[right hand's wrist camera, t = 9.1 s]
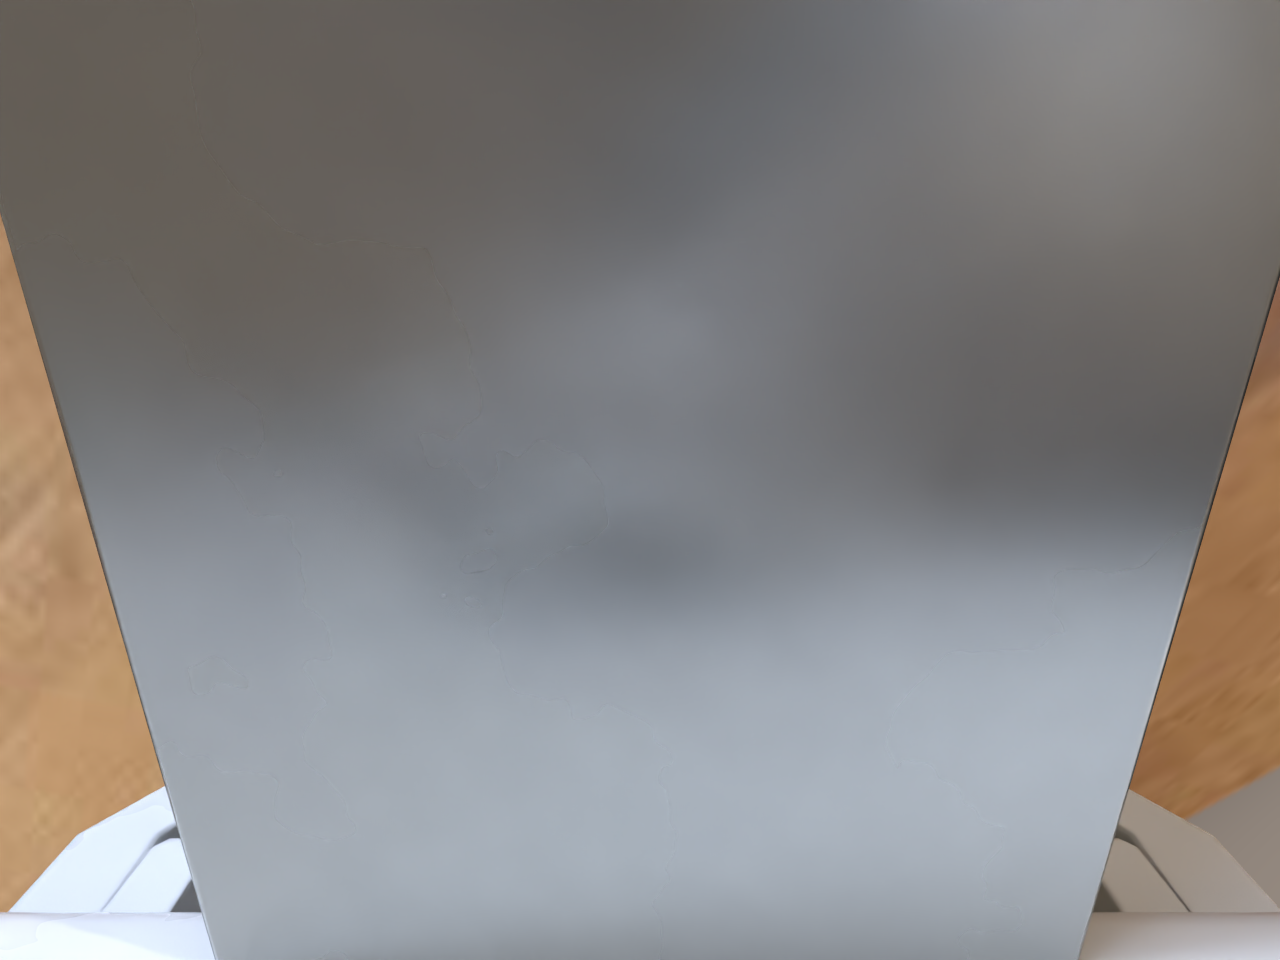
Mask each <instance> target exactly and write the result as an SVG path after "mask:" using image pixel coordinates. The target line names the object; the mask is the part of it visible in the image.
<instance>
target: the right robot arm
mask: <svg viewBox="0 0 1280 960" xmlns="http://www.w3.org/2000/svg"><path fill="white" fill-rule="evenodd" d="M0 960H215V958H214V954H213V951H212V948H211V944H210V941H209V937H208V934H207V930H206V927H205V923H204V920H203V916H202V913H201V909H200V906H199V902H198V899H197V895H196V892H195V888H194V885H193V881H192V878H191V874H190V871H189V867H188V864H187V861H186V857H185V854H184V850H183V847H182V843H181V840H180V836H179V833H178V829H177V826H176V822H175V819H174V815H173V812H172V808H171V805H170V801H169V798H168V794H167V791H166V787H165V786H164V787H162V788H161V789H159V790H157V791H155V792H153V793H152V794H150V795H148V796H146V797H144V798H143V799H141V800H139V801H137V802H135V803H134V804H132V805H130V806H128V807H126V808H125V809H123V810H121V811H119V812H117V813H116V814H114V815H112V816H110V817H109V818H107V819H105V820H103V821H101V822H100V823H98V824H96V825H94V826H92V827H91V828H89V829H87V830H85V831H83V832H82V833H80V834H78V835H77V836H76V837H75V838H74V839H73V840H72V841H71V842H70V844H69V845H68V846H67V847H66V848H65V849H64V850H63V851H62V853H61V854H60V855H59V856H58V857H57V858H56V859H55V860H54V861H53V863H52V864H51V865H50V866H49V867H48V868H47V869H46V870H45V871H44V873H43V874H42V875H41V876H40V877H39V878H38V879H37V880H36V881H35V883H34V884H33V885H32V886H31V887H30V888H29V889H28V890H27V891H26V893H25V894H24V895H23V896H22V897H21V898H20V899H19V900H18V901H17V903H16V904H15V905H14V906H13V907H12V908H11V909H10V910H9V911H8V912H0ZM1079 960H1280V908H1279V907H1278V906H1277V905H1276V904H1275V903H1274V902H1273V901H1272V899H1271V898H1270V897H1269V896H1268V895H1267V894H1266V893H1265V892H1264V891H1263V890H1262V888H1261V887H1260V886H1259V885H1258V884H1257V883H1256V882H1255V881H1254V880H1253V879H1252V878H1251V876H1250V875H1249V874H1248V873H1247V872H1246V871H1245V870H1244V869H1243V868H1242V866H1241V865H1240V864H1239V863H1238V862H1237V861H1236V860H1235V859H1234V858H1233V857H1232V855H1231V854H1230V853H1229V852H1228V851H1227V850H1226V849H1225V848H1224V847H1223V846H1222V844H1221V843H1220V842H1219V841H1218V840H1217V839H1216V838H1215V837H1214V836H1213V835H1211V834H1209V833H1207V832H1206V831H1204V830H1202V829H1200V828H1198V827H1197V826H1195V825H1193V824H1191V823H1189V822H1188V821H1186V820H1184V819H1182V818H1180V817H1179V816H1177V815H1175V814H1173V813H1171V812H1170V811H1168V810H1166V809H1164V808H1162V807H1161V806H1159V805H1157V804H1155V803H1153V802H1152V801H1150V800H1148V799H1146V798H1144V797H1142V796H1141V795H1139V794H1137V793H1135V792H1133V791H1132V790H1130V789H1129V790H1128V794H1127V797H1126V800H1125V804H1124V807H1123V811H1122V814H1121V817H1120V821H1119V824H1118V828H1117V831H1116V834H1115V838H1114V841H1113V845H1112V848H1111V851H1110V855H1109V858H1108V861H1107V865H1106V868H1105V872H1104V875H1103V878H1102V882H1101V885H1100V889H1099V892H1098V895H1097V899H1096V902H1095V906H1094V909H1093V912H1092V916H1091V919H1090V923H1089V926H1088V929H1087V933H1086V936H1085V940H1084V943H1083V946H1082V950H1081V953H1080V957H1079Z"/></svg>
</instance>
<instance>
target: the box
mask: <svg viewBox="0 0 1280 960" xmlns="http://www.w3.org/2000/svg"><path fill="white" fill-rule="evenodd" d="M0 213H1V217H2V220H3V224H4V227H5V231H6V234H7V238H8V241H9V245H10V248H11V252H12V255H13V259H14V262H15V266H16V269H17V273H18V276H19V280H20V283H21V287H22V290H23V293H24V297H25V300H26V304H27V307H28V311H29V314H30V318H31V321H32V325H33V328H34V332H35V335H36V339H37V342H38V346H39V349H40V353H41V356H42V360H43V363H44V367H45V370H46V373H47V377H48V380H49V384H50V387H51V391H52V394H53V398H54V401H55V405H56V408H57V412H58V415H59V419H60V422H61V426H62V429H63V433H64V436H65V440H66V443H67V447H68V450H69V453H70V457H71V460H72V464H73V467H74V471H75V474H76V478H77V481H78V485H79V488H80V492H81V495H82V499H83V502H84V506H85V509H86V513H87V516H88V520H89V523H90V527H91V530H92V534H93V537H94V540H95V544H96V547H97V551H98V554H99V558H100V561H101V565H102V568H103V572H104V575H105V579H106V582H107V586H108V589H109V593H110V596H111V600H112V603H113V607H114V610H115V614H116V617H117V620H118V624H119V627H120V631H121V634H122V638H123V641H124V645H125V648H126V652H127V655H128V659H129V662H130V666H131V669H132V673H133V676H134V680H135V683H136V687H137V690H138V694H139V697H140V700H141V704H142V707H143V711H144V714H145V718H146V721H147V725H148V728H149V732H150V735H151V739H152V742H153V746H154V749H155V753H156V756H157V760H158V763H159V767H160V770H161V774H162V777H163V781H164V784H165V787H166V791H167V794H168V798H169V801H170V805H171V808H172V812H173V815H174V819H175V822H176V826H177V829H178V833H179V836H180V840H181V843H182V847H183V850H184V854H185V857H186V861H187V864H188V867H189V871H190V874H191V878H192V881H193V885H194V888H195V892H196V895H197V899H198V902H199V906H200V909H201V913H202V916H203V920H204V923H205V927H206V930H207V934H208V937H209V941H210V944H211V948H212V951H213V954H214V958H215V960H1079V957H1080V953H1081V950H1082V946H1083V943H1084V940H1085V936H1086V933H1087V929H1088V926H1089V923H1090V919H1091V916H1092V912H1093V909H1094V906H1095V902H1096V899H1097V895H1098V892H1099V889H1100V885H1101V882H1102V878H1103V875H1104V872H1105V868H1106V865H1107V861H1108V858H1109V855H1110V851H1111V848H1112V845H1113V841H1114V838H1115V834H1116V831H1117V828H1118V824H1119V821H1120V817H1121V814H1122V811H1123V807H1124V804H1125V800H1126V797H1127V794H1128V790H1129V787H1130V783H1131V780H1132V777H1133V773H1134V770H1135V766H1136V763H1137V760H1138V756H1139V753H1140V749H1141V746H1142V743H1143V739H1144V736H1145V732H1146V729H1147V726H1148V722H1149V719H1150V715H1151V712H1152V709H1153V705H1154V702H1155V698H1156V695H1157V692H1158V688H1159V685H1160V681H1161V678H1162V675H1163V671H1164V668H1165V664H1166V661H1167V658H1168V654H1169V651H1170V647H1171V644H1172V641H1173V637H1174V634H1175V630H1176V627H1177V624H1178V620H1179V617H1180V613H1181V610H1182V607H1183V603H1184V600H1185V596H1186V593H1187V590H1188V586H1189V583H1190V579H1191V576H1192V573H1193V569H1194V566H1195V562H1196V559H1197V556H1198V552H1199V549H1200V545H1201V542H1202V539H1203V535H1204V532H1205V528H1206V525H1207V522H1208V518H1209V515H1210V511H1211V508H1212V505H1213V501H1214V498H1215V495H1216V491H1217V488H1218V484H1219V481H1220V478H1221V474H1222V471H1223V467H1224V464H1225V461H1226V457H1227V454H1228V450H1229V447H1230V444H1231V440H1232V437H1233V433H1234V430H1235V427H1236V423H1237V420H1238V416H1239V413H1240V410H1241V406H1242V403H1243V399H1244V396H1245V393H1246V389H1247V386H1248V382H1249V379H1250V376H1251V372H1252V369H1253V365H1254V362H1255V359H1256V355H1257V352H1258V348H1259V345H1260V342H1261V338H1262V335H1263V331H1264V328H1265V325H1266V321H1267V318H1268V314H1269V311H1270V308H1271V304H1272V301H1273V297H1274V294H1275V291H1276V287H1277V284H1278V280H1279V277H1280V0H0Z"/></svg>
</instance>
